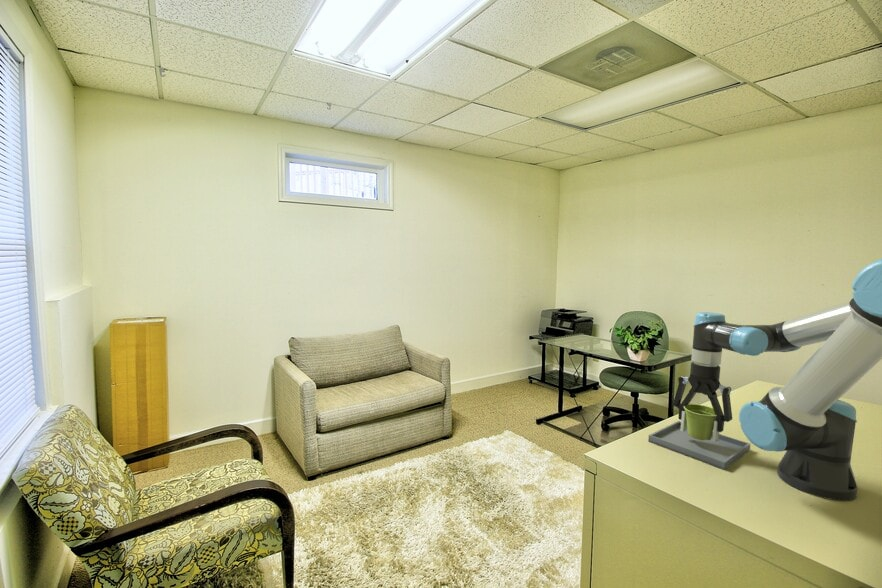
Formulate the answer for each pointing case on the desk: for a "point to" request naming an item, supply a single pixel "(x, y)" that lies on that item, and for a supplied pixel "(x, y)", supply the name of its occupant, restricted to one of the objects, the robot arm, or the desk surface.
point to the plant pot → (700, 421)
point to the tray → (700, 446)
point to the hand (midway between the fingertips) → (699, 435)
